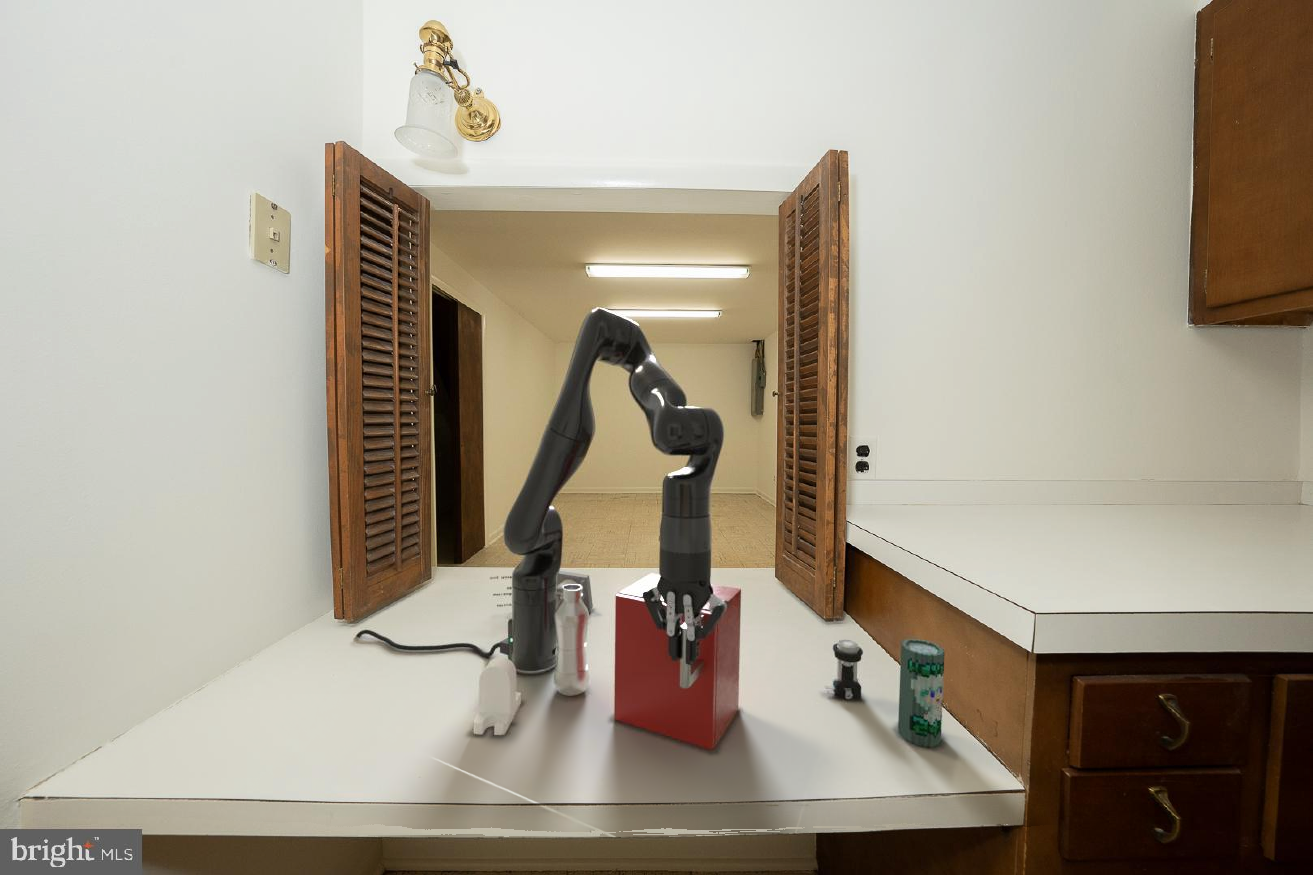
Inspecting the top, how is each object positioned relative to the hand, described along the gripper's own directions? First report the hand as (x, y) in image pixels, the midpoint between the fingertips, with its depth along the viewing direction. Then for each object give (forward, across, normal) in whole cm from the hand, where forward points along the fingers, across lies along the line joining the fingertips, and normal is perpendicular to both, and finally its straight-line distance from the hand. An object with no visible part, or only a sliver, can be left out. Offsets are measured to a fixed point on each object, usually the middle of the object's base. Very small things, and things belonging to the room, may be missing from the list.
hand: (683, 660), depth 78 cm
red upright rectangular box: (+17, +6, -14) cm, 22 cm away
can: (+17, -32, -26) cm, 45 cm away
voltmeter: (+17, +58, -40) cm, 72 cm away
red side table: (+17, +6, -4) cm, 18 cm away
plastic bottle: (+17, +27, -10) cm, 34 cm away
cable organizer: (+17, +34, +2) cm, 38 cm away
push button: (+17, -18, -34) cm, 42 cm away
